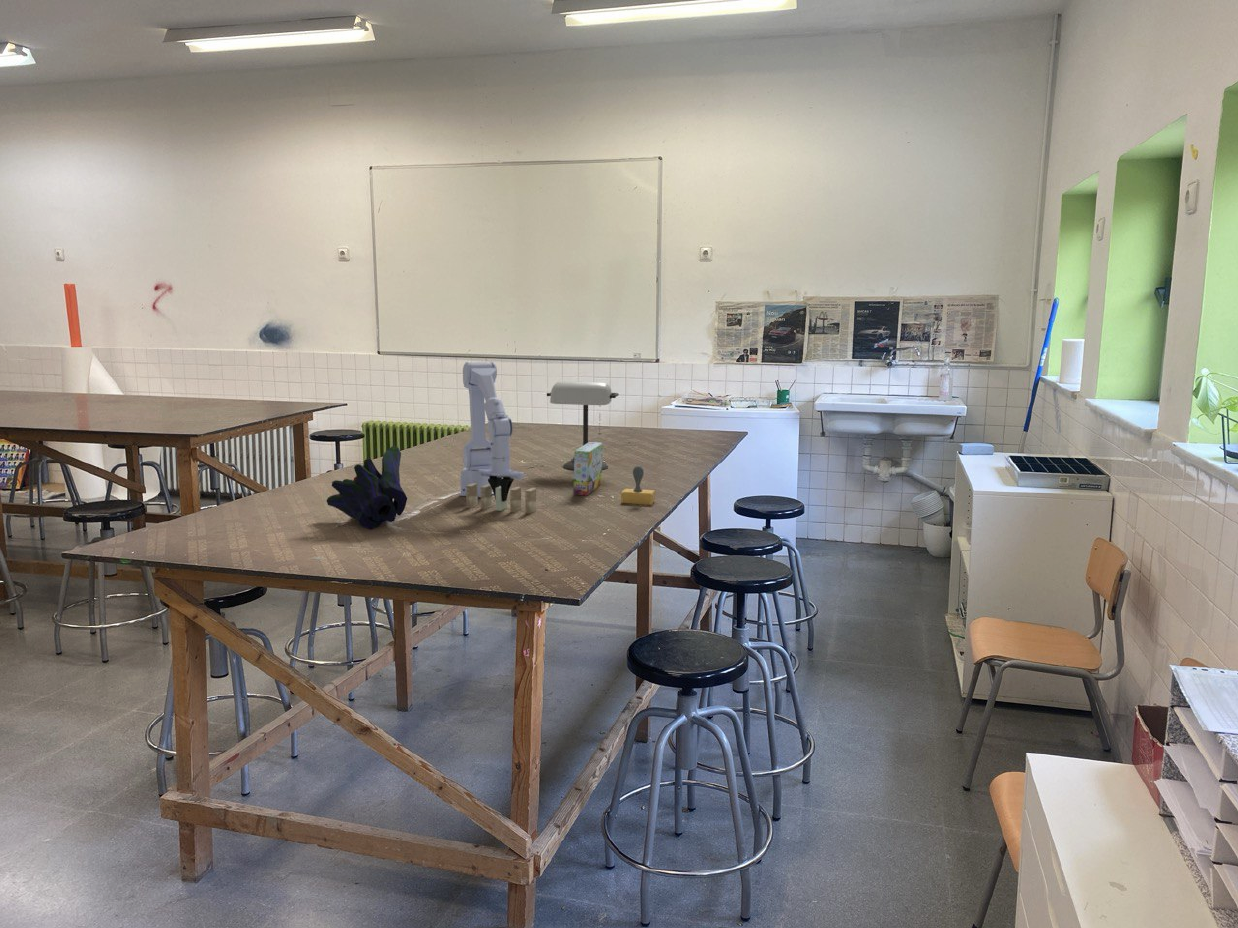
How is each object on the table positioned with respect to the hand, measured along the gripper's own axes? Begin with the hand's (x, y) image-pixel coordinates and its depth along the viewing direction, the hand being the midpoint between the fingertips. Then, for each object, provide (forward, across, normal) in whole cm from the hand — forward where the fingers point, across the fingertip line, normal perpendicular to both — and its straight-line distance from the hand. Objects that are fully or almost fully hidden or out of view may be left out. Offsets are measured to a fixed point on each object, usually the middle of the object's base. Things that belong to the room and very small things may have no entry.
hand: (501, 500), depth 276 cm
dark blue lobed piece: (+3, -30, -26) cm, 39 cm away
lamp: (+3, 0, +74) cm, 74 cm away
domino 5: (+3, +10, 0) cm, 10 cm away
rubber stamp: (+3, +36, +25) cm, 44 cm away
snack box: (+3, +15, +38) cm, 41 cm away
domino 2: (+3, -5, 0) cm, 6 cm away
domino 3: (+3, 0, 0) cm, 3 cm away
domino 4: (+3, +5, 0) cm, 6 cm away
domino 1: (+3, -10, 0) cm, 10 cm away
